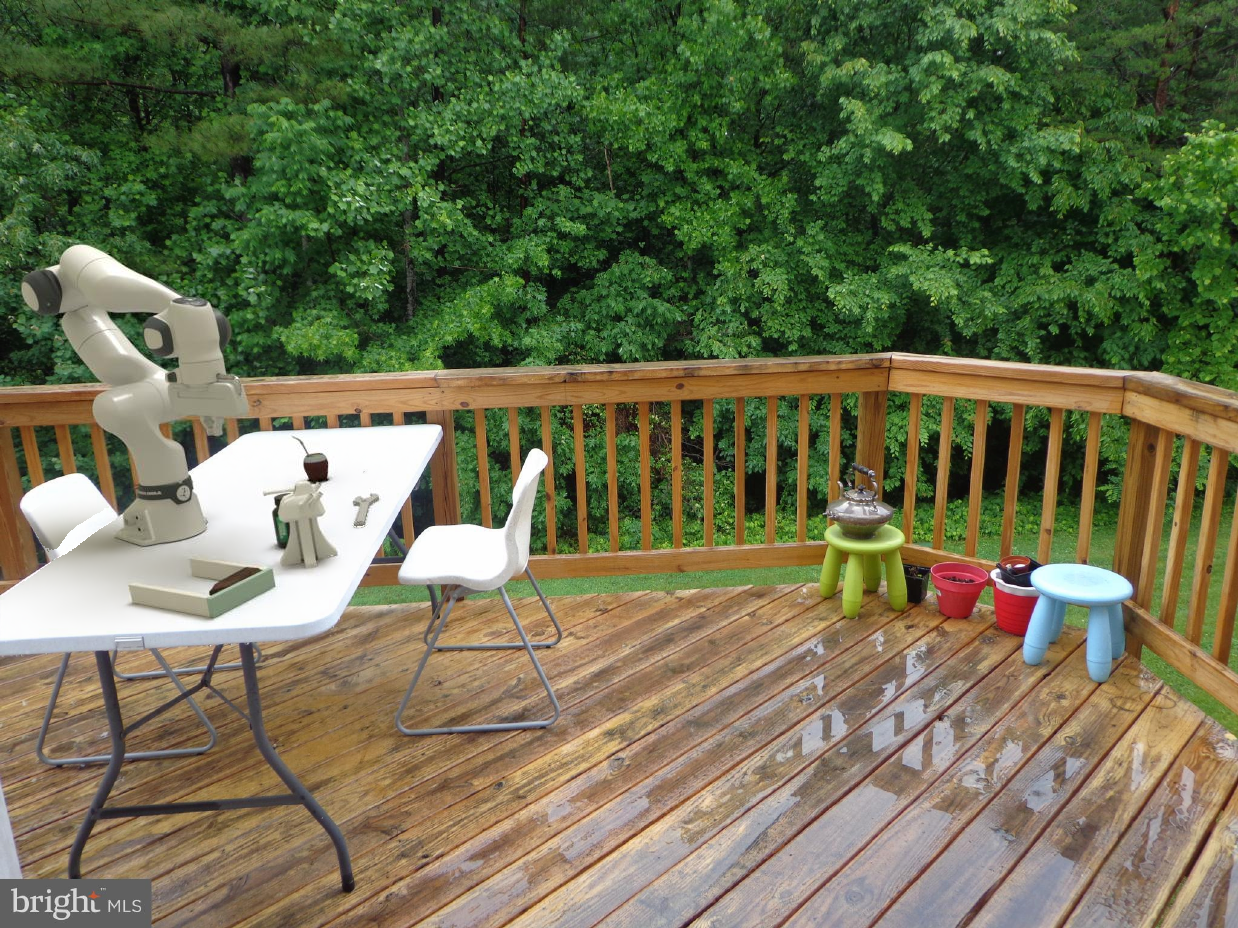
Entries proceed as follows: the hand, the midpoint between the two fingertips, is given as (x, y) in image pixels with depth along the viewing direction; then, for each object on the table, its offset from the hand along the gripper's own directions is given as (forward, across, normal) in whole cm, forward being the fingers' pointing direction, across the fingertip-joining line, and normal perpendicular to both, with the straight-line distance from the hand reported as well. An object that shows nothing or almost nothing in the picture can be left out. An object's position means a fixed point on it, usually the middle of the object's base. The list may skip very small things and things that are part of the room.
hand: (215, 435), depth 191 cm
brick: (+30, -18, +17) cm, 39 cm away
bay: (+29, -9, +18) cm, 35 cm away
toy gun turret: (+29, -17, -4) cm, 34 cm away
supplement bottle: (+29, -6, -11) cm, 32 cm away
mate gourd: (+29, +27, -55) cm, 68 cm away
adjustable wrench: (+30, -6, -35) cm, 46 cm away
